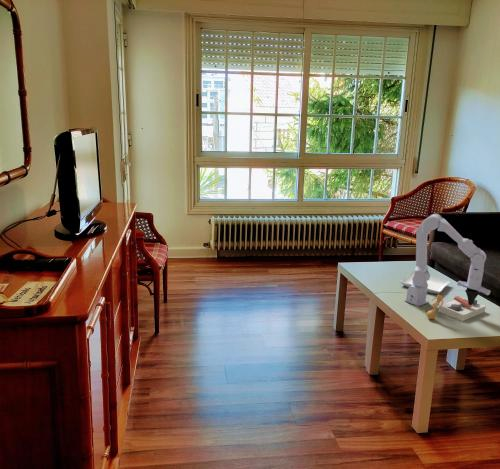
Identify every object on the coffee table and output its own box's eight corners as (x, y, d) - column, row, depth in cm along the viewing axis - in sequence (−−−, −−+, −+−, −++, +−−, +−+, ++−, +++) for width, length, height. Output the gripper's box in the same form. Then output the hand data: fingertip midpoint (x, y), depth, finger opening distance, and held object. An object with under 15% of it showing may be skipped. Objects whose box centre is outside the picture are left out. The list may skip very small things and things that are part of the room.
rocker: (469, 308, 210) (470, 305, 209) (453, 299, 216) (454, 296, 215) (472, 306, 212) (473, 304, 211) (457, 298, 217) (457, 295, 217)
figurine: (422, 314, 209) (426, 290, 206) (435, 315, 209) (439, 291, 206) (430, 322, 201) (434, 297, 198) (443, 323, 201) (447, 298, 198)
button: (457, 315, 208) (458, 308, 207) (448, 311, 211) (449, 305, 210) (462, 313, 210) (463, 306, 210) (453, 309, 214) (454, 303, 213)
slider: (474, 305, 214) (474, 301, 214) (470, 303, 216) (470, 300, 215) (476, 304, 216) (477, 300, 215) (472, 302, 217) (473, 299, 217)
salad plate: (439, 297, 232) (440, 291, 231) (398, 286, 244) (399, 280, 243) (449, 286, 248) (450, 280, 248) (411, 277, 261) (412, 271, 260)
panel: (462, 321, 204) (464, 313, 203) (438, 311, 213) (439, 303, 212) (484, 311, 216) (486, 304, 215) (460, 303, 225) (462, 295, 224)
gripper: (495, 280, 204) (490, 307, 207) (464, 270, 215) (460, 297, 219) (487, 282, 200) (482, 311, 203) (456, 273, 211) (452, 300, 215)
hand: (470, 304), depth 211 cm, fingers closed, pressing on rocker
